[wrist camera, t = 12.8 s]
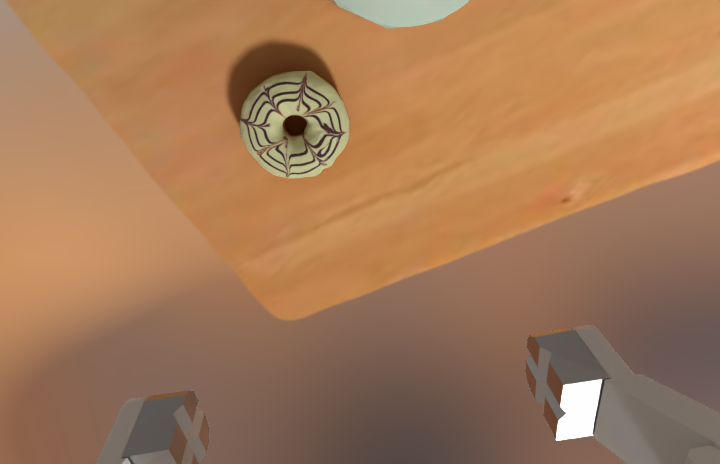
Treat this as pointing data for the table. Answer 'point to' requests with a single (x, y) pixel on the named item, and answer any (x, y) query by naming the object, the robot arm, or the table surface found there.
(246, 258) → the table surface
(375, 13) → the cloche
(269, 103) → the decorated donut
